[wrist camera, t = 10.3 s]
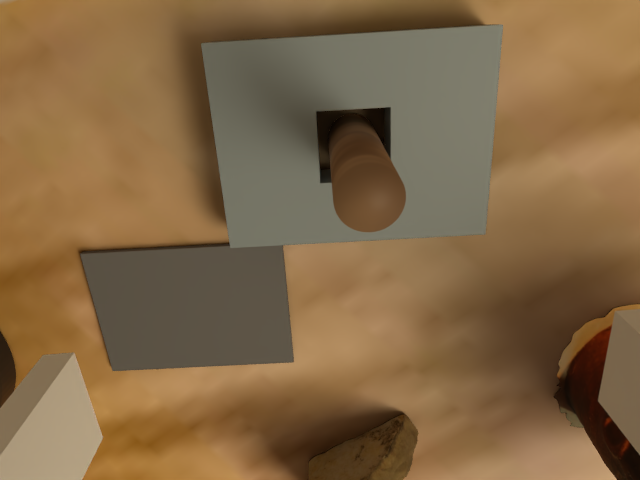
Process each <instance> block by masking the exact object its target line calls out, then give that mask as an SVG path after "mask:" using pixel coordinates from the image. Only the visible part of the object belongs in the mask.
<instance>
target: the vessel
mask: <svg viewBox="0 0 640 480" xmlns="http://www.w3.org/2000/svg"><path fill="white" fill-rule="evenodd" d="M634 309H640V304H634V305H627V306H621V307H617V308H613V309H612V310H611V311H610V312H609V313H608V314H607V315H606V316H605V317H604V318H596V319H594V320H592V321H589V322H587V323H585V324H584V325H583V326H582V327H581V329H579V330H578V331H576V332H575V333H574V334H573V337H572V341H571V343H570V344H569V345H568V346H567V347H566V348H565V349H564V351H563V353H562V357H561V359H560V360H559V363H558V365H559V366H560V369H559V371H558V374H557V377H558V379H559V381H560V383H559V384H558V385H557V386H559V387H562V388H561V389H560V390H559V391H558V392H557V393H556V394H555V396H554V398H555V399H556V400H557V401H558V402H559V406H560V411H561V413H567V415H566V418H567V419H568V420H569V421H570V422H572V423H571V425H570V426H574V427H582V428H584V429H585V431H586V433H587V435H588V436H589V438H590V440H591V441H592V443H593V445H594V446H595V448H596V449H597V451H598V453H599V454H600V456H601V458H602V460H603V461H604V463H605V464H606V466H607V467H608V468H609V470H610V471H611V472H612V473H613V475H614V476H615V477H616V479H617V480H640V455H639V453H638V452H637V451H636V450H635V448H634V447H633V446H632V444H631V443H630V442H629V440H628V439H627V438H626V437H625V435H624V434H623V433H622V431H621V430H620V429H619V427H618V426H617V425H616V424H615V422H614V421H613V420H612V418H611V417H610V416H609V414H608V413H607V412H606V411H605V409H604V408H603V407H602V405H601V404H600V403H599V402H598V398H599V392H600V387H601V382H602V376H603V371H604V366H605V361H606V355H607V350H608V345H609V339H610V334H611V329H612V324H613V318H614V313H615V311H621V310H634Z"/></svg>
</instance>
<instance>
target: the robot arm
mask: <svg viewBox="0 0 640 480" xmlns="http://www.w3.org/2000/svg"><path fill="white" fill-rule="evenodd" d="M15 382H16V371H15V364H14V360H13V357H12V354H11V351H10V349H9V346H8V344H7V342H6V341H5V339H4V337H3V336H2V334H1V333H0V480H82V479H83V477H84V475H85V473H86V471H87V469H88V467H89V465H90V463H91V461H92V459H93V457H94V455H95V453H96V451H97V449H98V447H99V445H100V443H101V441H102V439H103V436H102V433H101V430H100V428H99V425H98V422H97V419H96V416H95V413H94V410H93V407H92V404H91V401H90V398H89V395H88V392H87V389H86V386H85V383H84V380H83V377H82V374H81V371H80V368H79V365H78V362H77V359H76V356H75V353H63V354H50V355H43V356H42V357H41V358H40V360H39V361H38V362H37V363H36V365H35V366H34V367H33V368H32V369H31V371H30V372H29V373H28V374H27V376H26V377H25V378H24V379H23V381H22V382H21V383H20V384H19V386H18V387H17V388H16V389H15V391H14V388H15ZM598 402H599V403H600V404H601V405H602V407H603V408H604V409H605V411H606V412H607V413H608V414H609V416H610V417H611V418H612V420H613V421H614V422H615V424H616V425H617V426H618V427H619V429H620V430H621V431H622V433H623V434H624V435H625V437H626V438H627V439H628V440H629V442H630V443H631V444H632V446H633V447H634V448H635V450H636V451H637V452H638V453H639V455H640V309H634V310H621V311H615V313H614V318H613V324H612V329H611V334H610V339H609V345H608V350H607V355H606V361H605V366H604V371H603V376H602V382H601V387H600V392H599V398H598Z"/></svg>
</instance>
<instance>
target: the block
mask: <svg viewBox="0 0 640 480" xmlns="http://www.w3.org/2000/svg"><path fill="white" fill-rule="evenodd" d="M502 32H503V25H473V26H457V27H441V28H425V29H409V30H393V31H376V32H360V33H344V34H328V35H312V36H296V37H280V38H264V39H248V40H232V41H216V42H207V43H201V47H202V54H203V61H204V68H205V75H206V82H207V89H208V96H209V103H210V110H211V117H212V124H213V131H214V138H215V145H216V152H217V159H218V166H219V173H220V180H221V187H222V194H223V201H224V208H225V215H226V222H227V229H228V236H229V243H230V248H240V247H259V246H278V245H297V244H315V243H334V242H353V241H372V240H390V239H409V238H428V237H447V236H465V235H484V234H486V223H487V211H488V199H489V187H490V175H491V163H492V151H493V139H494V127H495V115H496V103H497V92H498V80H499V68H500V56H501V44H502ZM367 108H384V148H385V150H386V152H387V154H388V156H389V158H390V159H391V161H392V163H393V165H394V167H395V169H396V171H397V172H398V174H399V176H400V178H401V180H402V182H403V184H404V187H405V191H406V202H405V206H404V209H403V211H402V213H401V215H400V216H399V218H398V219H397V220H396V221H395V222H394V223H393V224H392V225H390V226H389V227H387V228H385V229H383V230H380V231H376V232H360V231H356V230H354V229H351V228H350V227H348V226H347V225H345V224H344V223H343V222H342V221H341V220H340V218H339V217H338V215H337V214H336V211H335V208H334V204H333V193H332V181H331V169H326V170H320V160H319V143H318V126H317V111H333V110H350V109H367Z"/></svg>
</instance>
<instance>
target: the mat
mask: <svg viewBox="0 0 640 480" xmlns="http://www.w3.org/2000/svg"><path fill="white" fill-rule="evenodd" d="M80 255H81V259H82V263H83V266H84V270H85V273H86V277H87V281H88V284H89V288H90V291H91V295H92V298H93V302H94V306H95V309H96V313H97V316H98V320H99V324H100V327H101V331H102V334H103V338H104V341H105V345H106V349H107V352H108V356H109V359H110V363H111V367H112V370H113V371H123V370H144V369H165V368H185V367H206V366H227V365H247V364H268V363H289V362H294V357H293V347H292V336H291V326H290V315H289V305H288V295H287V284H286V274H285V263H284V253H283V245H278V246H259V247H240V248H230V244H215V245H196V246H178V247H159V248H140V249H122V250H103V251H84V252H82V253H81V254H80Z"/></svg>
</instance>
